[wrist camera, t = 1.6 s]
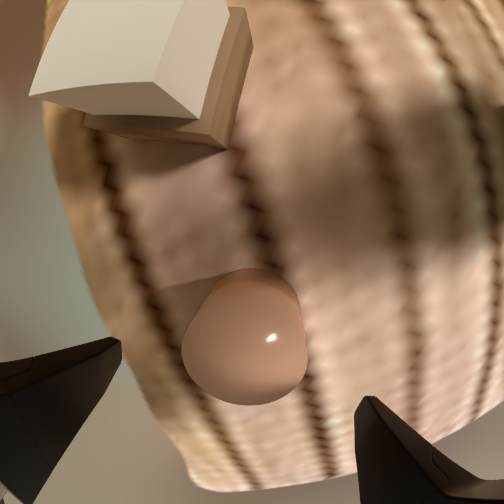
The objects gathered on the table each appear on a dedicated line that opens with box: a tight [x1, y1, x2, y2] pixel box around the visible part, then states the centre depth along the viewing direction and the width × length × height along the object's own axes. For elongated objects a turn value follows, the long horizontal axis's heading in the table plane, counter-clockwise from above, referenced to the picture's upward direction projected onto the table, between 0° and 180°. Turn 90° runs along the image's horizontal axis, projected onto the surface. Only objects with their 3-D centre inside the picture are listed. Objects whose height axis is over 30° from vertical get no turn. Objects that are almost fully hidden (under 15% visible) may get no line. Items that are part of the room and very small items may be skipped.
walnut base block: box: [83, 7, 253, 150], centre depth 11 cm, size 6×6×4 cm
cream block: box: [29, 0, 230, 119], centre depth 7 cm, size 5×5×4 cm
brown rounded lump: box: [181, 268, 308, 405], centre depth 12 cm, size 5×5×4 cm
